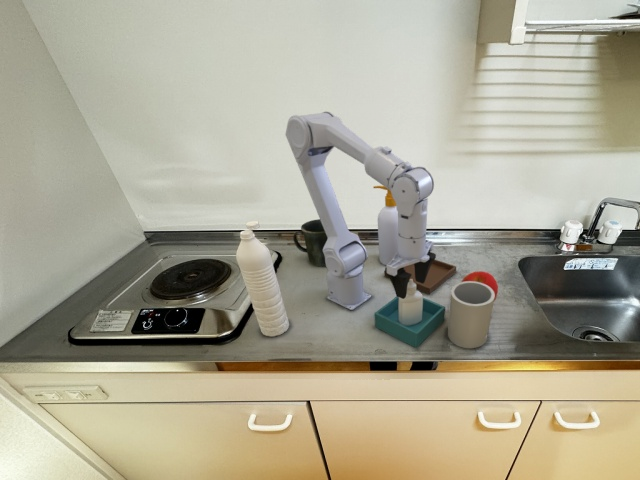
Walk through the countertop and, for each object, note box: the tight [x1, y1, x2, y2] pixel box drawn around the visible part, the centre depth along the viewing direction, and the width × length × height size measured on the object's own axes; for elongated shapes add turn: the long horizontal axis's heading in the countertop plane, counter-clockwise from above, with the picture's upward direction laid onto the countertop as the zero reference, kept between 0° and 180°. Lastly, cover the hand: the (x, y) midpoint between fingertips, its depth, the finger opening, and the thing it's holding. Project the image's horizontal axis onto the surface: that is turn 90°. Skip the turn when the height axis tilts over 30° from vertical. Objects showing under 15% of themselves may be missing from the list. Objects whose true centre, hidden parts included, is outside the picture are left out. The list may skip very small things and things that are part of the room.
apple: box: [461, 270, 499, 302], centre depth 78 cm, size 9×9×12 cm
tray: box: [383, 259, 457, 295], centre depth 96 cm, size 16×15×2 cm
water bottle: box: [235, 220, 290, 337], centre depth 70 cm, size 9×6×25 cm
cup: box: [447, 281, 495, 349], centre depth 71 cm, size 9×9×12 cm
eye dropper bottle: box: [399, 279, 424, 326], centre depth 74 cm, size 4×6×12 cm
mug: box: [292, 218, 328, 267], centre depth 101 cm, size 11×15×12 cm
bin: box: [374, 295, 446, 349], centre depth 76 cm, size 12×12×4 cm
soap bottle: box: [372, 185, 398, 266], centre depth 97 cm, size 9×9×24 cm
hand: (410, 289), depth 72 cm, fingers open, 7 cm apart
